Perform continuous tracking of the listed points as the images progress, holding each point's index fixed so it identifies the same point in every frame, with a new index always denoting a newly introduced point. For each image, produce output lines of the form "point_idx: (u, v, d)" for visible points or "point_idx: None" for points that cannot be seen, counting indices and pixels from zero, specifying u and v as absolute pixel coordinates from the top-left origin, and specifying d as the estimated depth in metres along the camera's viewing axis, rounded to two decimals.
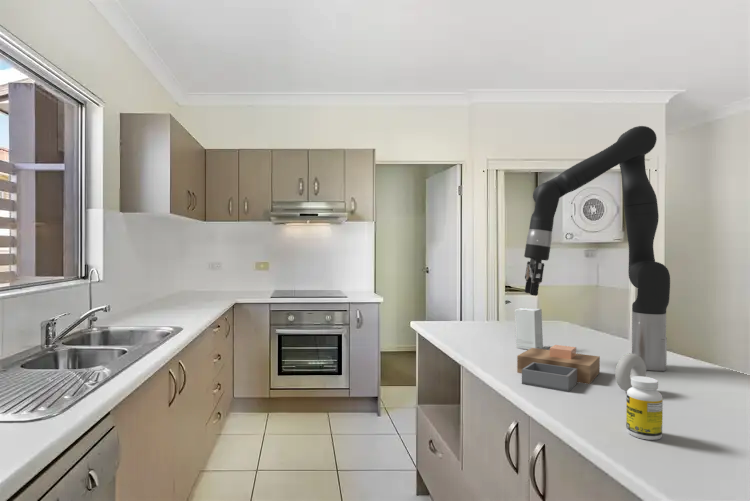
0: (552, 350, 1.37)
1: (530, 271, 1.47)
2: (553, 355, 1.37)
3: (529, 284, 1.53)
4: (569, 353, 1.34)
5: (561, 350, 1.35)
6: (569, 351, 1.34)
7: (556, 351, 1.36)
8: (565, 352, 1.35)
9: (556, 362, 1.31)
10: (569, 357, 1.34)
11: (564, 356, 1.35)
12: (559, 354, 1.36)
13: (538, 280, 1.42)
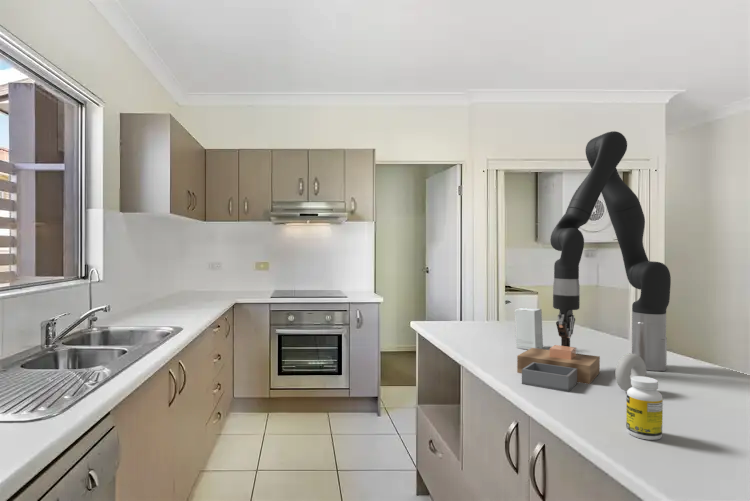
0: (552, 350, 1.37)
1: None
2: (553, 355, 1.36)
3: None
4: (569, 353, 1.34)
5: (561, 350, 1.35)
6: (569, 351, 1.34)
7: (556, 351, 1.36)
8: (565, 352, 1.34)
9: (556, 362, 1.31)
10: (569, 357, 1.34)
11: (564, 356, 1.35)
12: (559, 354, 1.35)
13: (563, 335, 1.39)
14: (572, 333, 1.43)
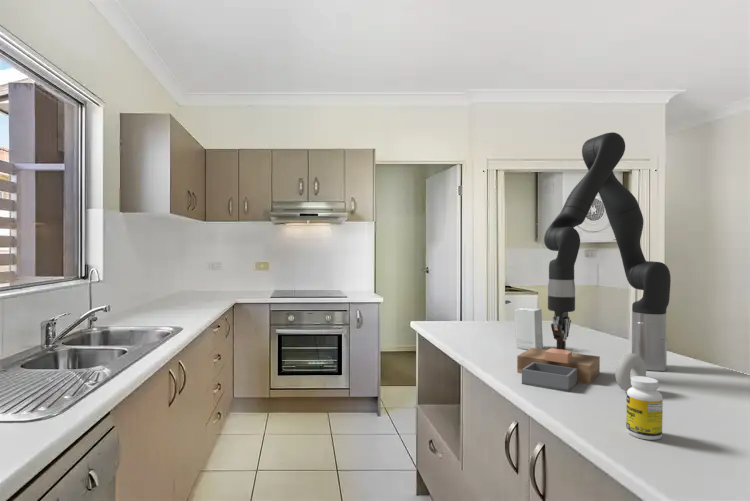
0: (548, 354, 1.32)
1: None
2: (549, 359, 1.32)
3: None
4: (565, 357, 1.29)
5: (557, 354, 1.30)
6: (565, 355, 1.29)
7: (552, 354, 1.31)
8: (561, 356, 1.30)
9: (556, 362, 1.31)
10: (565, 361, 1.29)
11: (560, 360, 1.30)
12: (555, 358, 1.31)
13: (559, 338, 1.34)
14: None
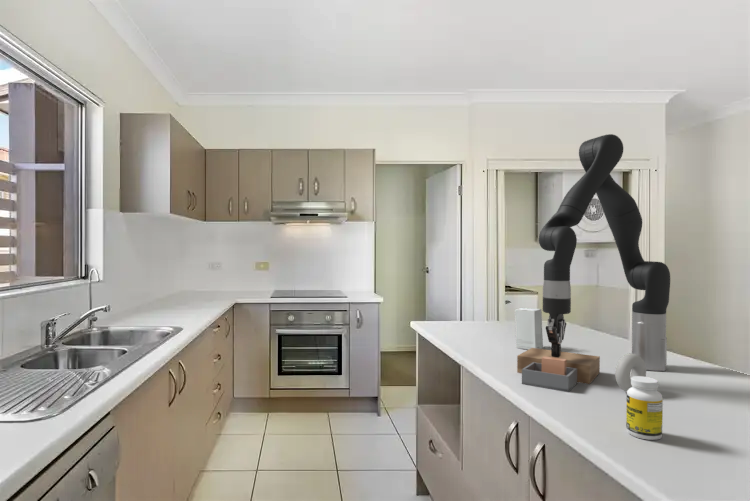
0: None
1: None
2: None
3: None
4: None
5: None
6: None
7: None
8: None
9: None
10: None
11: None
12: None
13: (553, 341, 1.30)
14: None
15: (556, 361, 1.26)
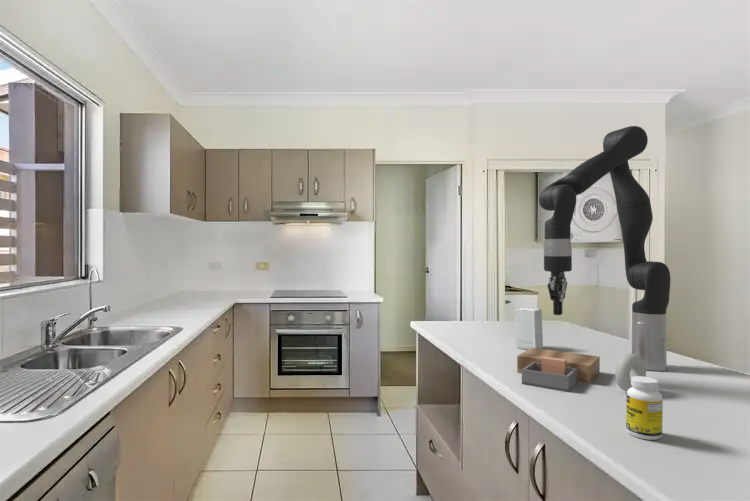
0: None
1: None
2: None
3: None
4: None
5: None
6: None
7: None
8: None
9: None
10: None
11: None
12: None
13: (555, 298, 1.31)
14: (564, 297, 1.35)
15: (556, 361, 1.26)
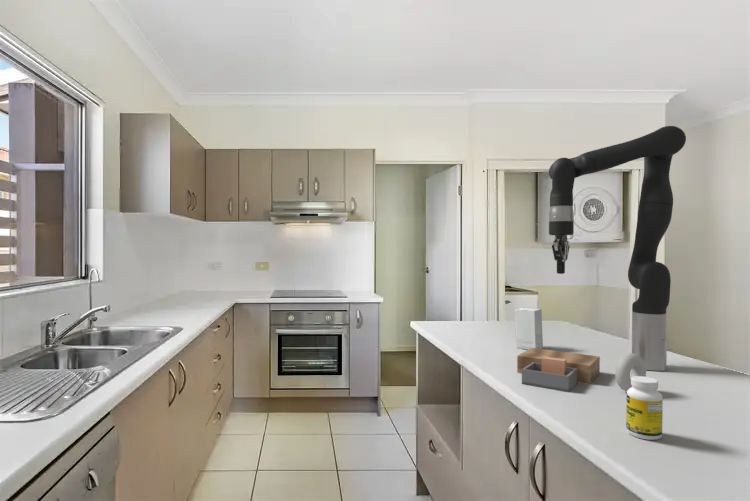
0: None
1: None
2: None
3: None
4: None
5: None
6: None
7: None
8: None
9: None
10: None
11: None
12: None
13: (559, 258, 1.48)
14: None
15: (556, 361, 1.26)
